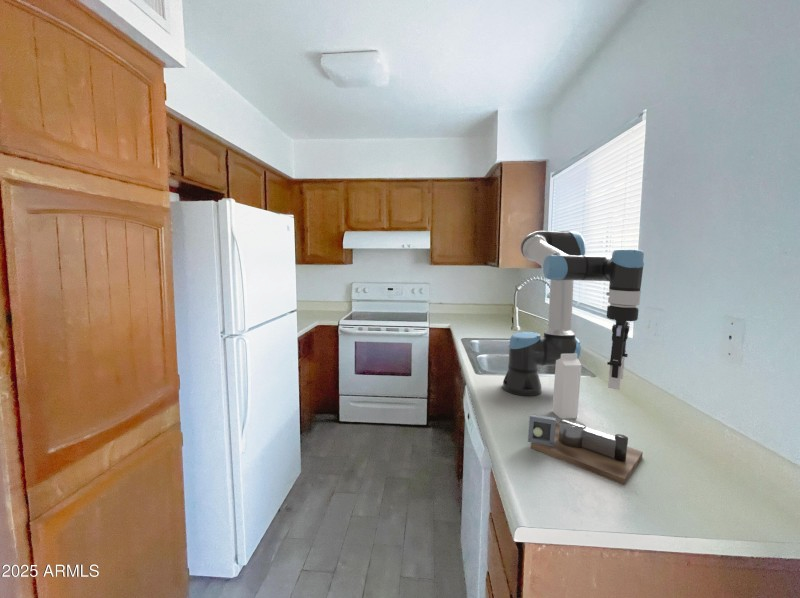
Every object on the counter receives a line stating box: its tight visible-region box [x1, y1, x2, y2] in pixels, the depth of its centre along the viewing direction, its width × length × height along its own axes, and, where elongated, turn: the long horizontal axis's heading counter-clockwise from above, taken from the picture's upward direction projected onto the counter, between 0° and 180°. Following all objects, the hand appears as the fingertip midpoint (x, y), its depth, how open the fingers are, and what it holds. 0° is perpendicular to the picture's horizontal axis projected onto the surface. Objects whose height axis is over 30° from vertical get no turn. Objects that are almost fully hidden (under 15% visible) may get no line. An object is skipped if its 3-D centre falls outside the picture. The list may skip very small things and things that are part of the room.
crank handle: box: [558, 418, 629, 461], centre depth 106 cm, size 18×7×6 cm, turn 45°
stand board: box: [530, 422, 644, 486], centre depth 107 cm, size 18×24×2 cm
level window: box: [527, 413, 557, 447], centre depth 108 cm, size 3×7×8 cm, turn 68°
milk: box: [551, 354, 582, 420], centre depth 130 cm, size 6×6×22 cm
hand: (615, 383), depth 107 cm, fingers open, 9 cm apart
